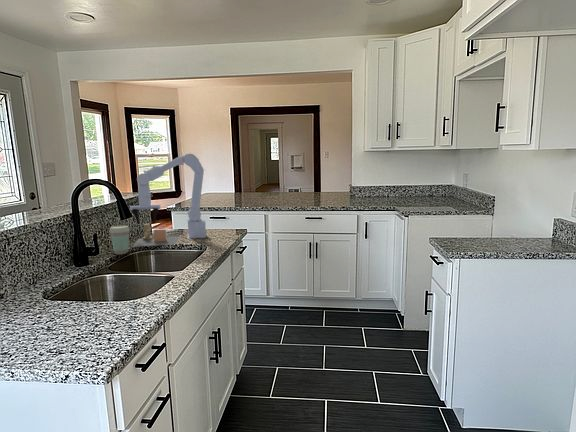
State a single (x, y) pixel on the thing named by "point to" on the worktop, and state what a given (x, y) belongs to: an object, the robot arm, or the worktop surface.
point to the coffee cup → (120, 238)
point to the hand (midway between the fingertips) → (146, 223)
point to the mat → (151, 242)
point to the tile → (160, 235)
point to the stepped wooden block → (147, 232)
